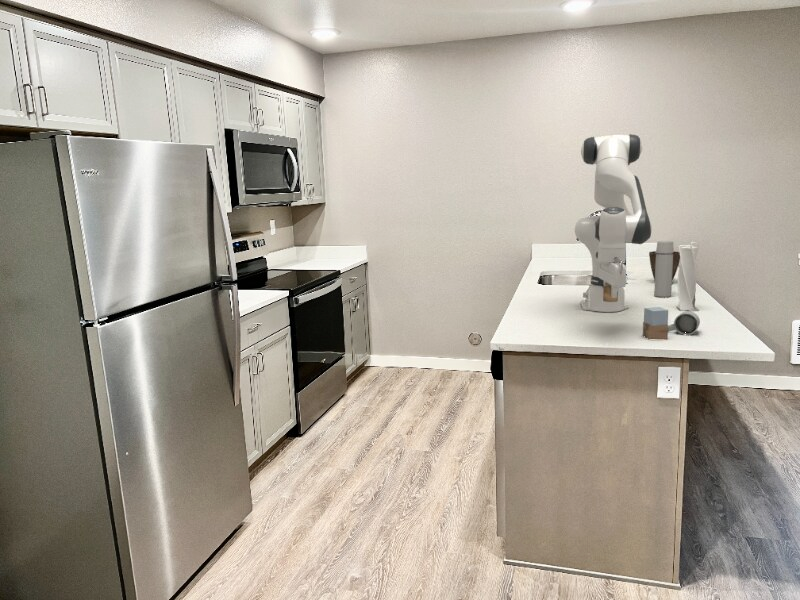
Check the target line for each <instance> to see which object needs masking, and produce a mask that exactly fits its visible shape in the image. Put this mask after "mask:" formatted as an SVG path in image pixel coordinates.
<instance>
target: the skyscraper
mask: <svg viewBox="0 0 800 600" xmlns="http://www.w3.org/2000/svg"><path fill="white" fill-rule="evenodd" d="M693 244H695V245H696V246H694V245H693ZM699 249H700V246H699V244H698V243H697V242H696V241H691V242H690V244H681V245H679V246H678V252H679V253H680V261H679V265H678V273H677V294H678V296H677V297H678V304H677V306H676V307H677V308H678V310H679V309H680V310H699V309H698V308H697V307H696V305H695V304H696V288H697V279H698V278H697V272H698V271H697V264H696V258H697V254H698V252H699ZM677 308H676V309H677ZM680 310H679V311H680Z"/></svg>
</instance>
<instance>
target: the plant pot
mask: <svg viewBox="0 0 800 600" xmlns="http://www.w3.org/2000/svg"><path fill="white" fill-rule="evenodd" d="M655 252H657V251H656V250H654V251H649V252H648V256H649V266H650V269H651V273H652V278H653V280H654V281H655V267H656V254H657V253H655ZM672 254H673V268H672V282H674V279H675V277H676V274H677V270H678V269H679V265H680V262H681V259H680V253H679V251H675V250H674V251H673V253H672Z"/></svg>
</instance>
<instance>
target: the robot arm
mask: <svg viewBox="0 0 800 600" xmlns="http://www.w3.org/2000/svg"><path fill="white" fill-rule="evenodd" d="M642 151H643V144H642V141H641V138H640V137H639V135H636V134H631V133H630V134H610V135H602V136H591V137H587V138H586V139H585V140H584V141H583V143H582V145H581V149H580V155H581V158H582V160H583V162H584V163H585V164H587V165H592V166H594V165H596V166H595V173H594V194H593V195H594V197H593V198H594V199H593V200H594V201H595V203H596V204H597V205H598V206H600V207H602V208H603V209H602V210H601V211H600V215H590V216H585V217H582V218H579V219H578V220H577V222H576V224H575V227H574V235H575V237H576V238H577V240H579V242H581V243H582V244H583V245H584V246H585V247H586V248H587V249H588V251H589V253H590V256H591V257H590V258H591V266H592V269H591V270H592V272H591V273H592V275H591V276H590V277H591V278H590V285H589V286H588V288H587V289H586V291H585V292H583V293H582V298H583V299H585V300H580V306H581V309H582V310H584V311H593V312H603V313H612V312H613V313H614V312H622V311H623V310H626V309H629V305H627V304H626V301H625V300H626V298H625V297H626V295H625V293H626V292H625V289H624V288H626V285H627V268H626V265H625V264H624V263H623V262H626V259H627V258H626V255H627V244H632V245H642V244H644V243H646V242H647V241H649V239H650V238H651V237H652V228H653V227H652V223H651V219H650V217H649V214H648V211H647V210H648V209H647V207H646V202H645V198H644V193H643V190H642V185H641V183H640V180H639V177H638V176H637V175H634V174H633V173H632V171H631V170H630V167H629V166H630V164H632V163H635V162H637V160H639V159H640V156H641V154H642ZM624 195H625V196H626V197H628V198H629V200H630V203H631V206H632V211H633V213H632V212H630V211H629V209H628V208H627V205H626V203H625V197H624ZM605 285H611V288H612V289H611V292H610V296H611V297H612V298H616V297H617V292H618V301H617V302H605V301H603V287H604V286H605Z"/></svg>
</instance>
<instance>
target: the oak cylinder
mask: <svg viewBox="0 0 800 600" xmlns="http://www.w3.org/2000/svg"><path fill="white" fill-rule="evenodd" d="M611 289H612V288H611V285H605V286H604V287H603V301H605V302H617V301H618V292H617V297H616V298H612V297H611V296H610V292H611Z"/></svg>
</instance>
